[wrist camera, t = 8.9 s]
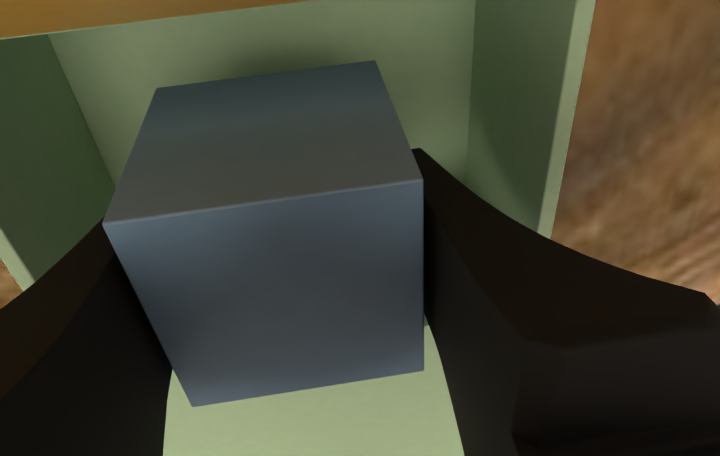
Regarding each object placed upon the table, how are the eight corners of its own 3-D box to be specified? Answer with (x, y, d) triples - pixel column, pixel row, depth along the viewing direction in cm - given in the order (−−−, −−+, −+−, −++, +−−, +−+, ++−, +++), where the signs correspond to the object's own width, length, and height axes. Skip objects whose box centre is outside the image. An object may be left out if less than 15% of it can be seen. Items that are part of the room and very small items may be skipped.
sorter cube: (386, 228, 15) (424, 371, 11) (211, 253, 15) (191, 408, 11) (375, 58, 12) (423, 179, 8) (155, 86, 12) (100, 223, 8)
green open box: (-1, -52, 14) (-187, 51, 8) (491, -108, 14) (633, -49, 9) (186, 357, 24) (161, 525, 19) (463, 314, 25) (519, 463, 19)
